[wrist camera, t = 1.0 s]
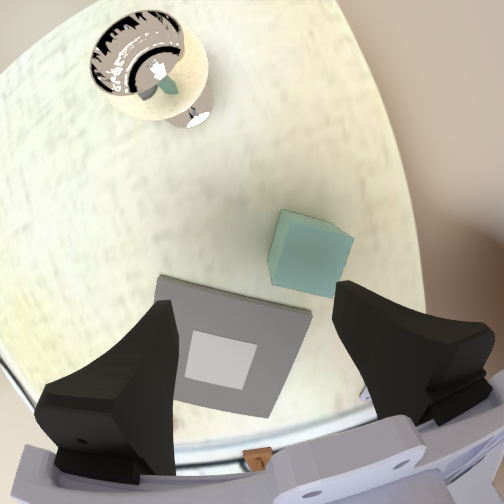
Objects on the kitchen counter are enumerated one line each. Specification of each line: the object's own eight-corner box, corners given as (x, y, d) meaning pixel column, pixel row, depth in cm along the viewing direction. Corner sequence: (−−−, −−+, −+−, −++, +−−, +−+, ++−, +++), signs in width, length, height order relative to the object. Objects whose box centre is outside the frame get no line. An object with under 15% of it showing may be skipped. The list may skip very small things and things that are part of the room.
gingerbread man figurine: (282, 474, 34) (288, 537, 23) (257, 477, 35) (259, 540, 23) (270, 446, 32) (275, 521, 21) (242, 450, 32) (241, 524, 21)
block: (332, 223, 24) (353, 238, 19) (316, 272, 25) (332, 298, 20) (281, 209, 24) (291, 220, 18) (267, 259, 25) (271, 284, 20)
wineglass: (154, 139, 22) (76, 120, 10) (154, 76, 20) (86, 19, 9) (223, 133, 22) (197, 97, 10) (221, 68, 20) (198, -9, 9)
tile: (310, 311, 26) (312, 316, 25) (267, 412, 30) (268, 418, 29) (160, 275, 25) (156, 279, 24) (147, 385, 29) (145, 391, 28)
